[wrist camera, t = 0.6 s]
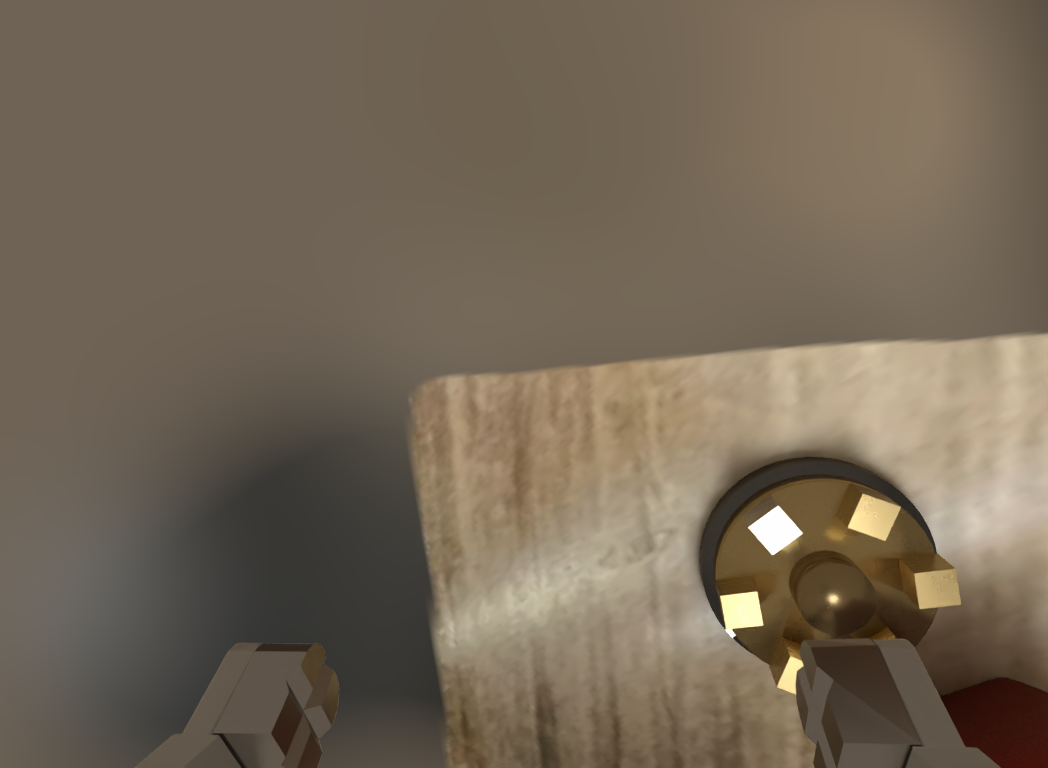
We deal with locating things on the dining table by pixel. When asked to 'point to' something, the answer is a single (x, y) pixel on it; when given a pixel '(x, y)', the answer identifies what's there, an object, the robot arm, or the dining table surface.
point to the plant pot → (1003, 721)
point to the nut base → (772, 475)
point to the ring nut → (825, 570)
